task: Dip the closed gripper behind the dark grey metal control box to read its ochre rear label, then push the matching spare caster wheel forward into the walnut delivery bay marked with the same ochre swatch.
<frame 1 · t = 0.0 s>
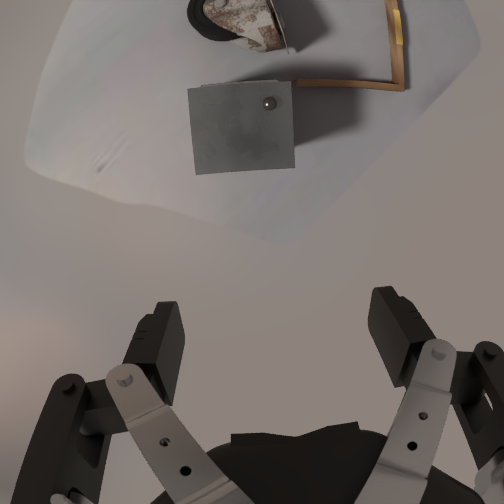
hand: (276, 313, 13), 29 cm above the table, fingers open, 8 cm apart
delivery bay: (341, 23, 30), on the table
control box: (243, 121, 36), on the table
caster wheel: (235, 23, 31), on the table
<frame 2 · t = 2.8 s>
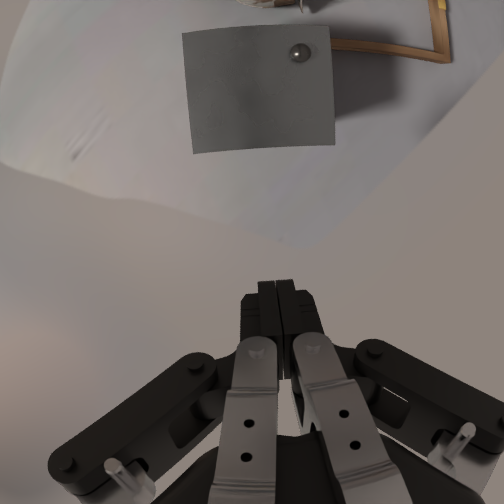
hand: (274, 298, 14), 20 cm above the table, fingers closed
control box: (255, 91, 27), on the table
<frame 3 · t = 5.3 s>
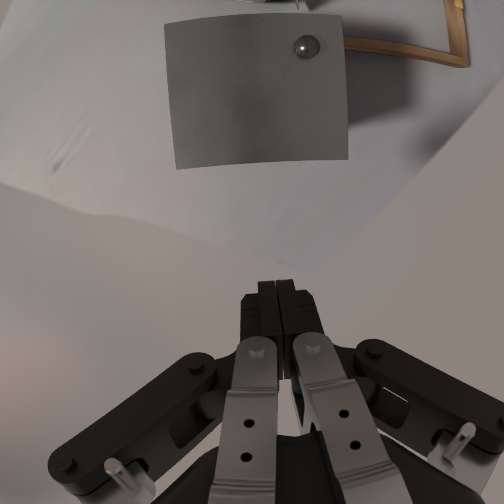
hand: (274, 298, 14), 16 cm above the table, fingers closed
control box: (253, 95, 24), on the table
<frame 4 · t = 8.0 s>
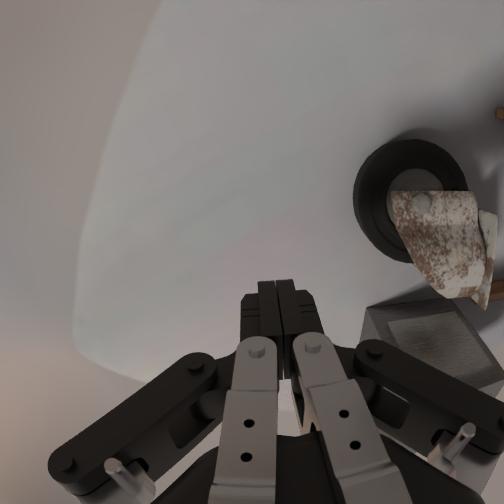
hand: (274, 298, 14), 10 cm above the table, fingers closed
control box: (401, 335, 28), on the table
caster wheel: (405, 209, 22), on the table
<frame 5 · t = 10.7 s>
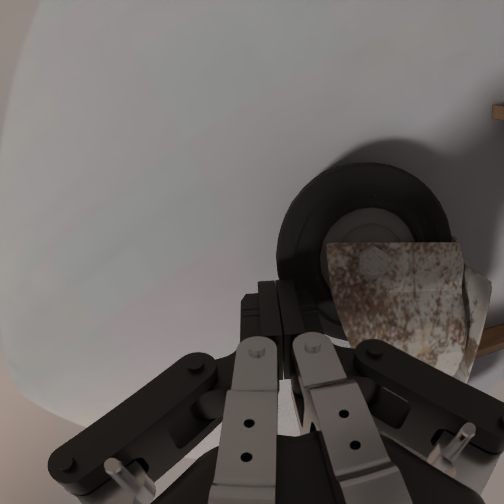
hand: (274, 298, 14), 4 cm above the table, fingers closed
caster wheel: (361, 258, 17), on the table, touching gripper
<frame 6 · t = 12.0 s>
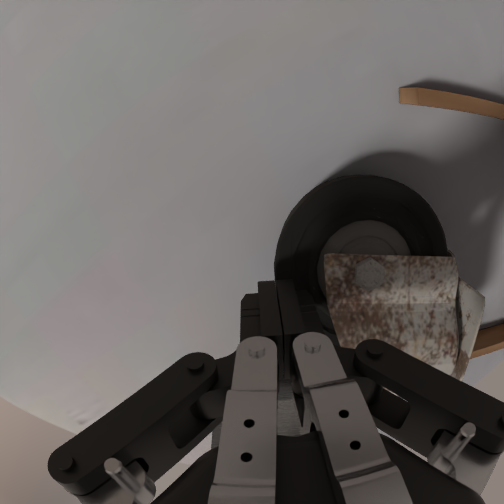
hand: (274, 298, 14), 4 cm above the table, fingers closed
delivery bay: (476, 242, 17), on the table
control box: (282, 407, 23), on the table
caster wheel: (357, 267, 17), on the table, touching gripper
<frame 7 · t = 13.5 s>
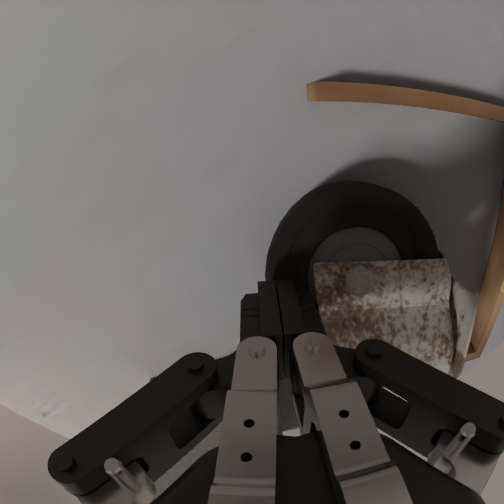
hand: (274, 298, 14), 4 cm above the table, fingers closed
delivery bay: (417, 249, 17), on the table
control box: (219, 410, 23), on the table
caster wheel: (352, 271, 18), on the table, touching gripper
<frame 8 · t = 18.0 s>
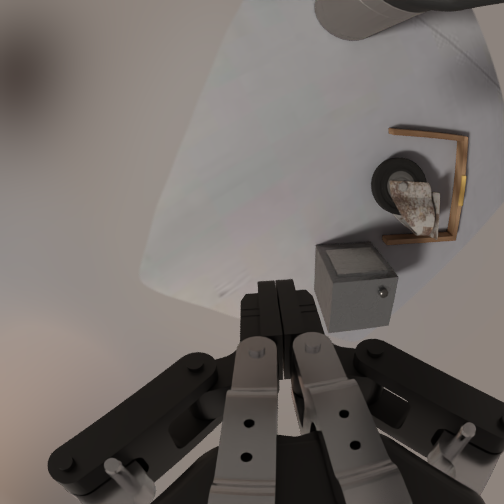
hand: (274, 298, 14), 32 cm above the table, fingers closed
delivery bay: (422, 186, 44), on the table
control box: (342, 266, 50), on the table
caster wheel: (396, 192, 45), on the table
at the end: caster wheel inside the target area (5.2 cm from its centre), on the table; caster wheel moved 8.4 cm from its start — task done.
